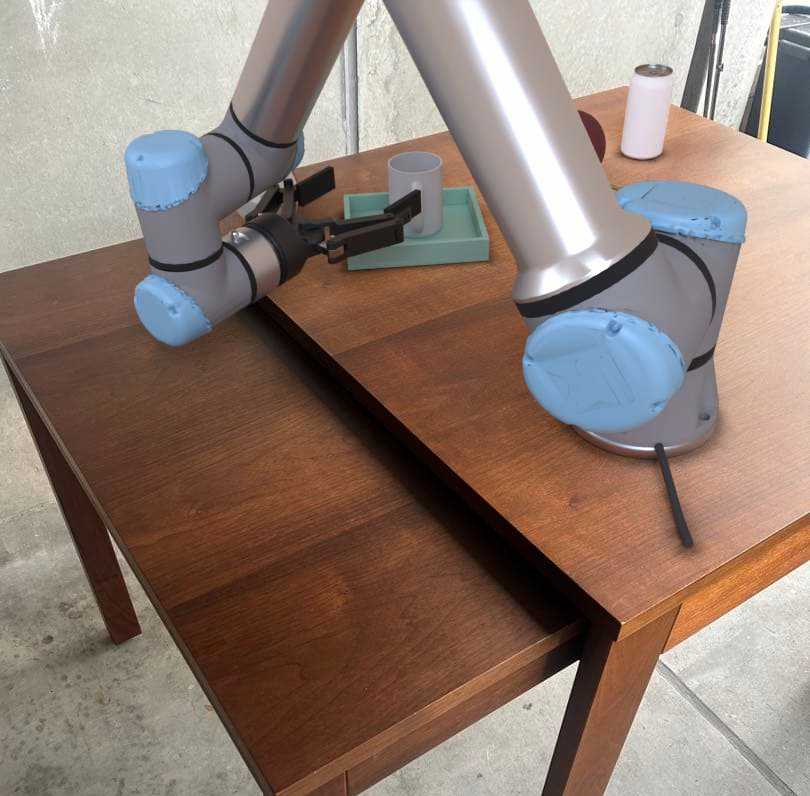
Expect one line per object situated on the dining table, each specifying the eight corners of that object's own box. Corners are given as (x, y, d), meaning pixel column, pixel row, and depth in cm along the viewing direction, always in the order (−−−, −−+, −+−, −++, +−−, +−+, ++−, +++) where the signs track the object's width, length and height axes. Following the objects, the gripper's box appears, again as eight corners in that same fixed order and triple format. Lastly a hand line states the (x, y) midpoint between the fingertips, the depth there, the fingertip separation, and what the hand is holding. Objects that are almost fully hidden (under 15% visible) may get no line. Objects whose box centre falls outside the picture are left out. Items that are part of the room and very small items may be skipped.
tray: (489, 260, 114) (489, 239, 112) (348, 270, 113) (346, 248, 111) (472, 206, 126) (473, 185, 123) (345, 214, 125) (343, 194, 123)
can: (646, 141, 140) (659, 60, 131) (670, 155, 135) (685, 72, 127) (612, 149, 138) (622, 67, 129) (635, 163, 134) (648, 79, 125)
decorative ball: (568, 202, 125) (575, 130, 118) (520, 181, 131) (524, 111, 123) (615, 182, 129) (625, 112, 122) (566, 163, 135) (573, 94, 128)
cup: (441, 214, 122) (440, 150, 116) (445, 247, 115) (445, 181, 109) (390, 217, 122) (387, 152, 116) (391, 250, 115) (388, 183, 109)
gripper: (342, 254, 88) (457, 179, 100) (173, 199, 99) (295, 138, 111) (348, 319, 93) (457, 241, 105) (187, 260, 104) (302, 196, 116)
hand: (374, 188), depth 108 cm, fingers open, 13 cm apart
